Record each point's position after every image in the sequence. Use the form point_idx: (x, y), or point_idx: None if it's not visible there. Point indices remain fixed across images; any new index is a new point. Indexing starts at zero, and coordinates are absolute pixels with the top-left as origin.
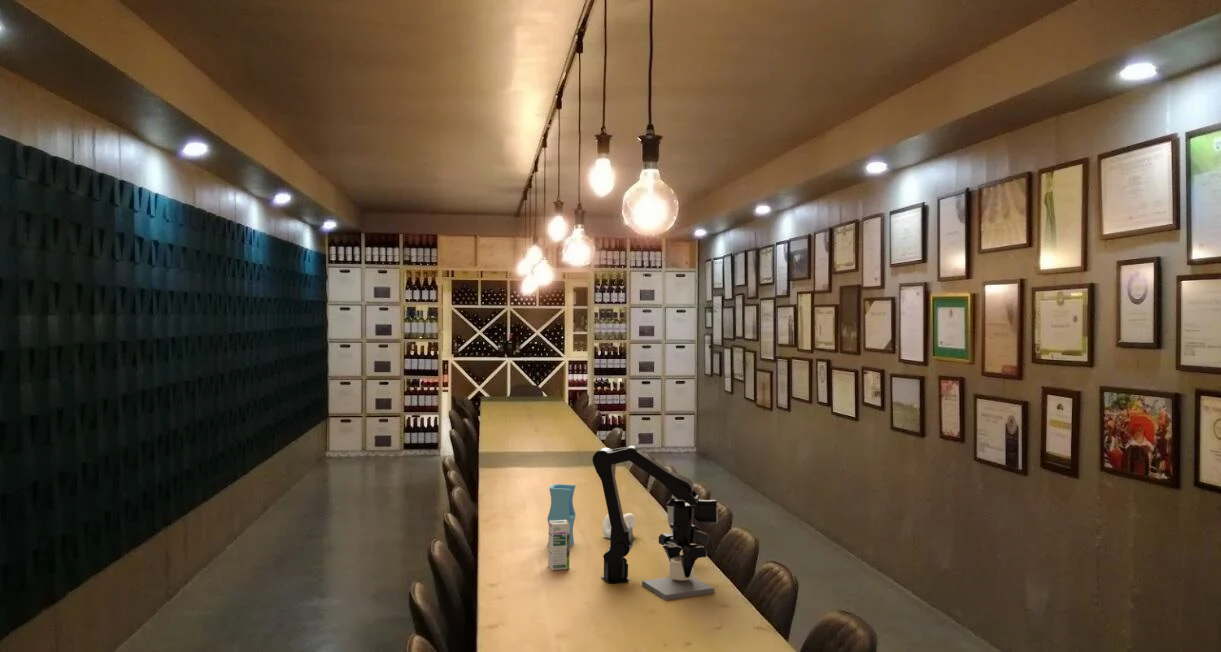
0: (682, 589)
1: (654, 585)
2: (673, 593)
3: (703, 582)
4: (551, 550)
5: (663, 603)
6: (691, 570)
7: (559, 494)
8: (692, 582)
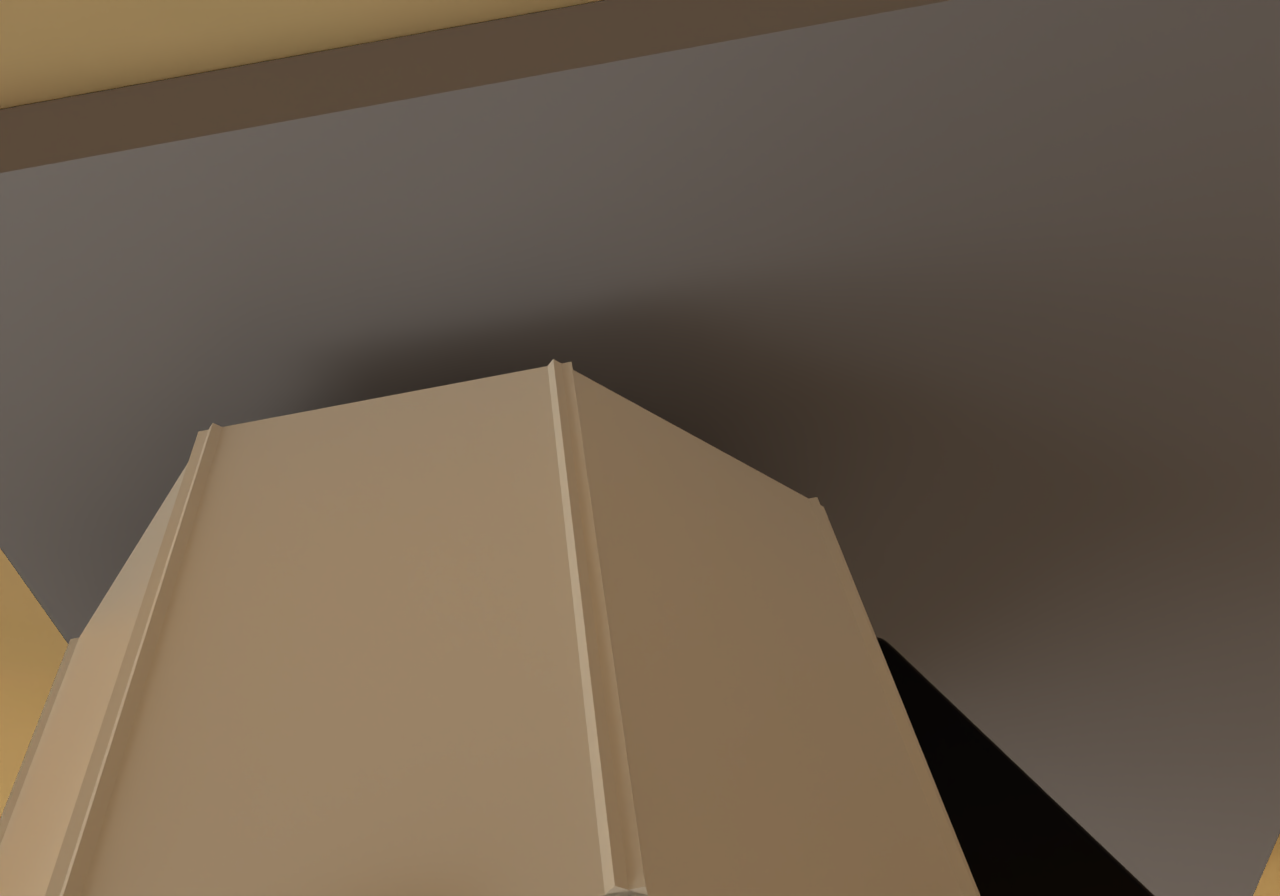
0: (1160, 710)
1: None
2: (1253, 858)
3: (942, 28)
4: None
5: (1267, 885)
6: (874, 726)
7: None
8: (796, 393)
